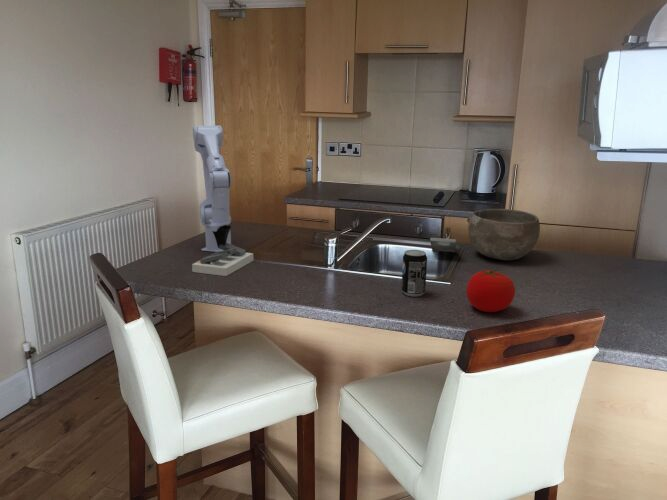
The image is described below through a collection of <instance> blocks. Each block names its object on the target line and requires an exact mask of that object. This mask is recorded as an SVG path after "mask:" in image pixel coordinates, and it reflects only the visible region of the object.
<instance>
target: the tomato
mask: <svg viewBox="0 0 667 500" xmlns="http://www.w3.org/2000/svg"><path fill="white" fill-rule="evenodd" d="M515 287H516V286H515V284H514V282H513V280H512V278H510V277H509V276H507V275H506V274H503V273H501V272H498V271H496V270H479V271H478V272H476V273H475V274H473V275H472V276H471V277H470V278H469V280H468V283H467V285H466V289H465V290H466V291H465V292H466V297H467V300H468V301H469V303H470V305H472V307H474V308H475V309H477V310H479V311H480V312H481V311H482V312H485V313H496V312H500V311H502V310H505V309H506V308H508V307H509V306H510V305H511V304H512V302H513V300H514V298H515V295H516V288H515Z"/></svg>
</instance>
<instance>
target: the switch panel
mask: <svg viewBox="0 0 667 500" xmlns="http://www.w3.org/2000/svg"><path fill="white" fill-rule="evenodd" d="M221 251H224V250H221ZM218 252H219V251H218ZM200 260H201V259H199V260H198V261H196V262H193V263H192V264H191V267H192V269H191V271H192V273H199V274H206V275H214V276H215V275H216V276H223V277H227V276H229V275H231V274H232V273H235V272H236V271H238V270H240V269H241V268H243V267H245V266H247V265H248V264H251V263H252V262H254V253H253V252H245V254H243V255H241V256H238V255H236V254H233V253H232V254H230V255H228V256H226V257H224V258H223V259H219V260H214V261H210V262H205V263H201V262H200Z"/></svg>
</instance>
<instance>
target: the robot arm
mask: <svg viewBox="0 0 667 500" xmlns="http://www.w3.org/2000/svg"><path fill="white" fill-rule="evenodd" d="M192 139H193V147H194V150H195V152H197V153H199V154H200V157H201V161H202V170H203V176H204V186H205V195H206V196H205V197H206V198H205V199H204V200H202V201H201V202H200V205H199V218H200V219H199V221H200V224H201V225H203V226H204V231H205V232H204V233H205V234H204V235H205V246H204V247H203V248H201V251H202V252H203V251H204V252H212V253H215V252H218V251H221V250H222V249H220V248H219V245H221V244H222V245H225V244H226V243H228V244H231V245H232V234H231V229H232V226H231V225H230V224H231V222H232V216H231V215H230V188H231V185H232V177H231V173H230V170H229V169H228V168H227V167H226V162H225V158H224V157H223V155H221V154H220V151H221V149H222V146H223V141H224V131H223V127H222V125H220V124H218V125H197V124H196V125H194V126H193V127H192Z"/></svg>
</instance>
